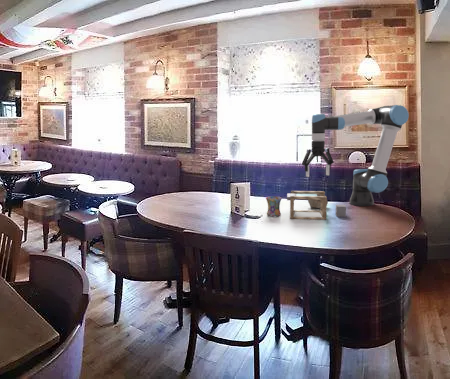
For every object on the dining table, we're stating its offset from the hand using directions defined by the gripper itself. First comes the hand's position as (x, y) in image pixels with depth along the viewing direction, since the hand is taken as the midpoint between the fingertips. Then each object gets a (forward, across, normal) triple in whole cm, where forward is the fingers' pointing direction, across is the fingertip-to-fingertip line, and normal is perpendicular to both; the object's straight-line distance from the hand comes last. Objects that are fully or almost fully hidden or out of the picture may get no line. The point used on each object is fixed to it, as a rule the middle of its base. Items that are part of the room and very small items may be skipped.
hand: (317, 176), depth 242 cm
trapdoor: (+12, +13, +5) cm, 18 cm away
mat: (+22, +10, +7) cm, 25 cm away
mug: (+22, +28, -2) cm, 36 cm away
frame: (+22, +10, +7) cm, 25 cm away
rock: (+22, -6, -11) cm, 25 cm away
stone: (+22, -8, +14) cm, 27 cm away
